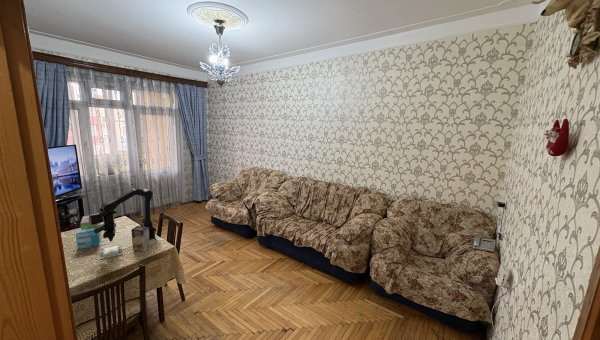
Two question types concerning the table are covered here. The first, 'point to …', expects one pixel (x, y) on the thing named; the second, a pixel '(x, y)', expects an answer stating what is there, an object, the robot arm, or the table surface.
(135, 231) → the coffee box
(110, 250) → the tile
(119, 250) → the mat
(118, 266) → the table surface
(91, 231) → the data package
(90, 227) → the tea box
